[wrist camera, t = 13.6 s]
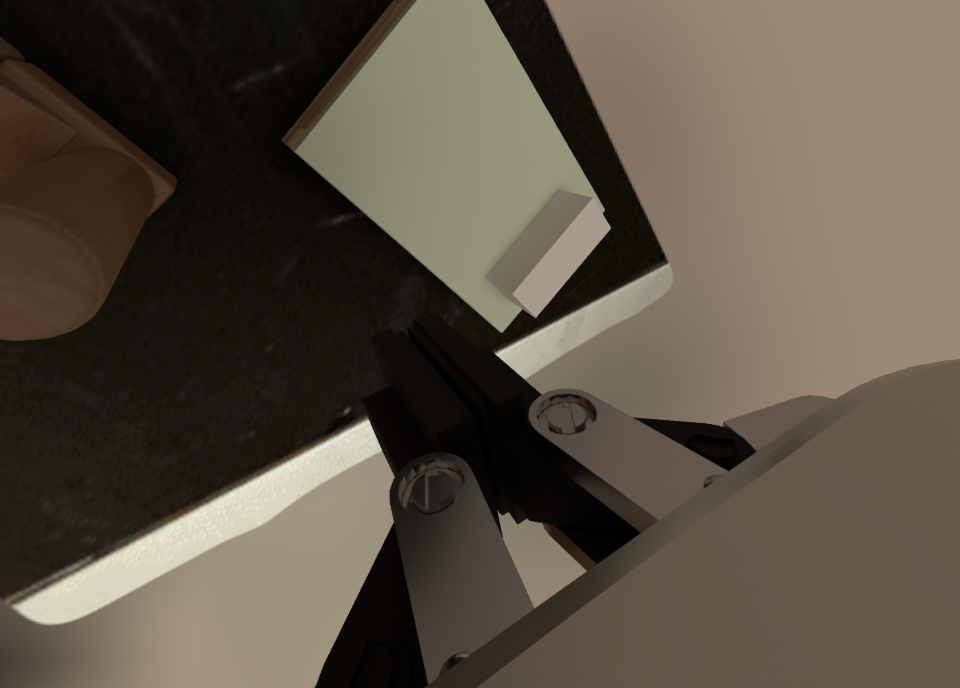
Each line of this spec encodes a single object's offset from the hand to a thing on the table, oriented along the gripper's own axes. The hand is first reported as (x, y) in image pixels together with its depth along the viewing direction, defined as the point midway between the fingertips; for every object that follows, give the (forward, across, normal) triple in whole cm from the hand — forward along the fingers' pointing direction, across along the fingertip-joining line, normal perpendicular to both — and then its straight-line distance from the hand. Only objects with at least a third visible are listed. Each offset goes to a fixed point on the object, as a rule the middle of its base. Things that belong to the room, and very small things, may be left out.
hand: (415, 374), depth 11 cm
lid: (+17, -11, 0) cm, 20 cm away
